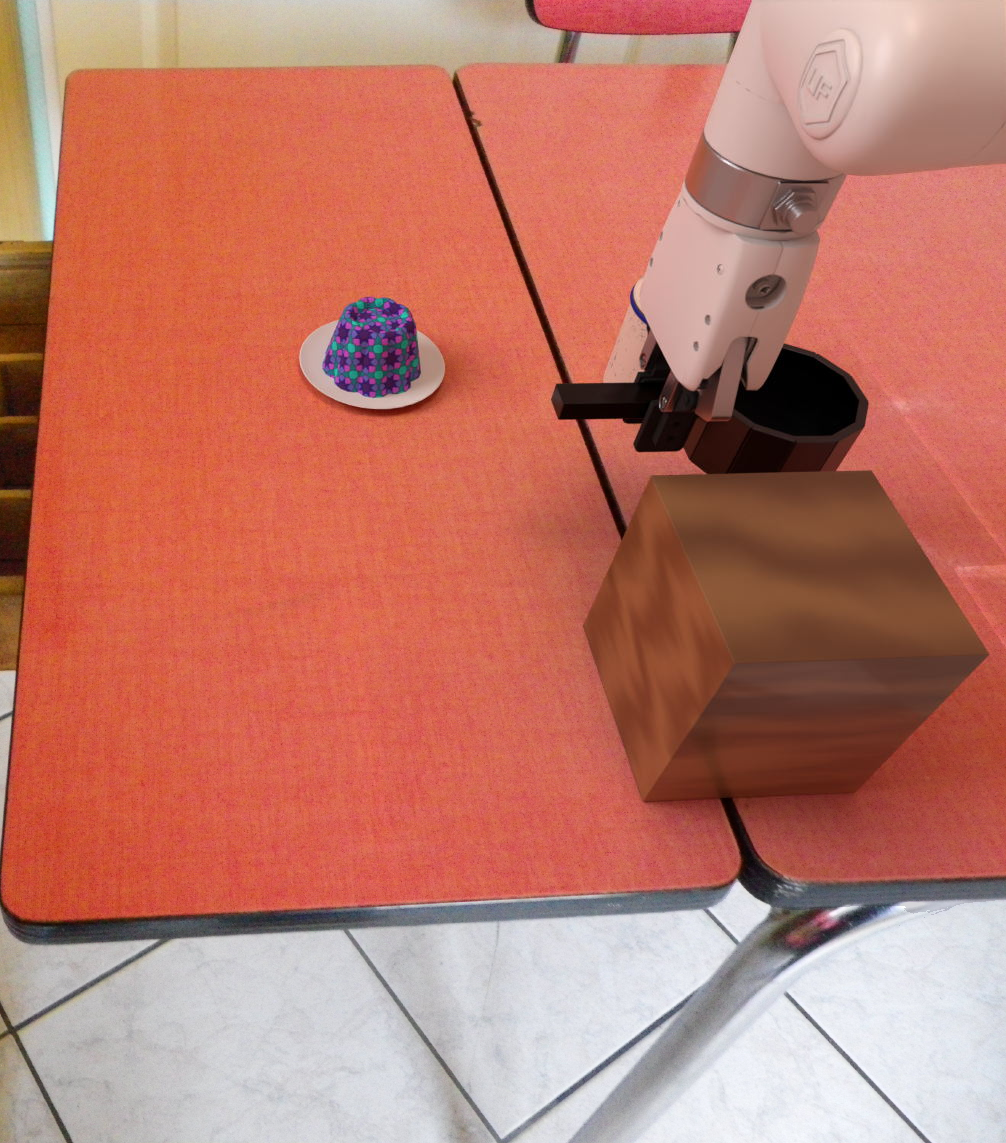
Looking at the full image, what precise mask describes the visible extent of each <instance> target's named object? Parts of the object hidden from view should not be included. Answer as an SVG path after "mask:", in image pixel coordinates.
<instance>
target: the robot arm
mask: <svg viewBox="0 0 1006 1143" xmlns="http://www.w3.org/2000/svg"><path fill="white" fill-rule="evenodd" d="M735 41H736V42H735V44H734V47H733V49H732V52H731V54H730V57H729V60H728V62H727V65H726V67H725V70H724V72H723V76H722V78H721V81H720V84H719V86H718V89H717V92H716V95H715V97H714V100H713V102H712V105H711V107H710V110H709V113H708V116H707V119H706V122H705V124H704V127H703V129H702V131H701V134H700V135H699V136H700V137H699V139H698V142H697V145H696V146H695V147H696V148H695V149H694V152H693V155H692V157H691V161H690V163H689V165H688V169H687V171H686V174H685V176H684V179H683V181H682V184H681V189H680V192H679V193H678V195H677V198H676V200H675V202H674V204H673V206H672V208H671V210H670V212H669V214H668V217H667V218H666V221H665V223H664V225H663V227H662V229H661V232H660V234H659V237H658V238H657V241H656V243H655V246H654V248H653V251H652V253H651V256H650V258H649V261H648V264H647V266H646V269H645V273H644V274H643V276H644V278H643V282H642V285H641V289H640V304H641V308H642V311H643V313H644V315H645V318H646V320H647V322H648V324H647V327H646V328H647V331H648V335H647V339H646V341H645V344H644V346H643V349H642V351H641V354H640V357H639V366H640V368H641V369H642V370H644V372H638V373H637V376H636V378H635V381H634V382H666V383H665V385H664V388H663V390H662V392H661V395H660V398H659V400H652V401H651V403H650V405H649V407H648V410H647V412H646V414H645V417H644V419H621V420H622V422H623V423H624V424H627V425H640V426H639V429H638V430H637V434H636V436H635V438H634V441H633V443H632V445H633V448H634V450H635V452H637V453H665V452H666V453H677V452H680V451H681V450H683V449H684V448H683V447H684V445H685V443H686V441H687V438H688V436H689V434H690V432H691V430H692V428H693V426H694V424H695V422H696V420H697V418H698V416H700V417H701V418H703V419H704V420H705V421H708V422H710V421H729V420H730V419H731V416H732V412H733V408H734V403H735V399H736V394H737V390H738V386H739V381H740V380H741V381H742V383H743V385H744V387H745V388H746V390H758V389H759V388H760V387H761V386H762V385H763V384H764V382H765V381H766V379H767V377H768V375H769V374H770V372H771V370H772V368H773V366H774V364H775V361H776V359H777V357H778V355H779V353H780V351H781V349H782V347H783V344H784V343H785V342H786V340H787V337H788V336H789V333H790V331H791V328H792V326H793V324H794V322H795V319H796V317H797V314H798V312H799V309H800V306H801V304H802V302H803V299H804V296H805V294H806V291H807V288H808V285H809V283H810V279H811V276H812V273H813V269H814V266H815V263H816V260H817V256H818V251H819V247H820V244H821V237H820V235H819V233H818V230H820V228H821V227H822V226H823V224H824V222H825V220H826V218H827V217H828V214H829V212H830V210H831V208H832V207H833V205H834V202H835V201H836V198H837V196H838V195H839V192H840V190H841V189H842V186H843V184H844V183H845V181H846V179H847V176H856V177H879V176H880V177H881V176H892V175H902V174H912V173H921V172H933V171H942V170H948V169H955V168H967V167H978V166H980V167H981V166H991V165H1006V0H751V2H750V5H749V7H748V10H747V12H746V15H745V18H744V20H743V23H742V26H741V28H740V31H739V33H738V36H737V39H736V40H735ZM683 387H685V388H687V389H688V390H684V391H682V389H683ZM696 389H697V390H696Z"/></svg>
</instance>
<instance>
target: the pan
mask: <svg viewBox="0 0 1006 1143" xmlns="http://www.w3.org/2000/svg"><path fill="white" fill-rule="evenodd" d="M665 383H666V382H632V383H603V382H572V383H571V382H565V383H564V382H563V383H562V382H561V383H560V382H559V383H555V385H554V389H553V392H552V394H551V398H550V401H551V404H552V407H553V409H554V412H555V415H556V418H557V420H559V421H573V420H575V421H577V420H579V421H580V420H581V421H582V420H622V419H644V417H645V414H646V412H647V410H648V407H649V405H650V403H651V401H652V400H659V398H660V395H661V392H662V390H663V388H664V385H665ZM684 390H688V389H687V388H685V387H683V389H682V391H684ZM696 390H697V389H696ZM869 405H870V402H869V400H868V398H867V396H866V395H865V393H864V392H863V391H862V389H861V388H860V386H859V385H858V383H857V381H856V380H855V378H854V377H853V375H851V373H849V372H847V371H846V370H844V369H843V368H841V367H840V366H839V365H836V364H835V363H833V361H830V360H829V359H828V358H826V357H824V356H822V355H821V354H820V353H817V352H815V351H813V350H808V349H806V348H802V347H799V346H796V345H792V344H789V343H785V342H784V344H783V347H782V349H781V351H780V353H779V355H778V357H777V359H776V361H775V364H774V366H773V368H772V370H771V372H770V374H769V375H768V377H767V379H766V381H765V382H764V384H763V385H762V386H761V387H760V388H759V389H758V390H746V388H745V387H744V385H743V383H742V381H741V380H740V381H739V386H738V390H737V394H736V399H735V403H734V408H733V412H732V416H731V419H730V420H729V421H710V422H708V421H705V420H704V419H703V418H701V417H700V416H698V418H697V420H696V422H695V424H694V426H693V428H692V430H691V432H690V434H689V436H688V438H687V441H686V443H685V445H684V447H683V448H682V449H683V450H684V452H685V454H686V456H687V458H688V460H689V461H690V463H692V464H693V465H694V466H695V467H696V468H698V469H699V470H700V471H702V472H704V474H736V473H778V472H820V471H838V468H839V467H840V466H841V464H842V463H843V461H844V459H845V458H846V456H848V454H849V452H850V450H851V449H852V447H853V446H854V444H855V443H856V440H857V439H858V438H859V436H860V435H861V433H862V432H863V430H864V428H865V427H866V421H867V416H868V411H869Z"/></svg>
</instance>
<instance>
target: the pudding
mask: <svg viewBox="0 0 1006 1143" xmlns="http://www.w3.org/2000/svg"><path fill="white" fill-rule="evenodd" d="M413 317H414V316H413V314H412V312H411V310H410V309H409V307H408V306H405V305H404V304H401V303H397V301H396V300H394V299H393V298H390V297H385V296H382V297H378V298H377V297H374V296H365V297H361V298H359V300H358V301H353V302H350V303H349V304H347V305H346V306H345V307H344V308H343V310H342V312H341V314H340V316H339V319H337V320H333V321H331V322H328V323H325V324H323V325H321V326H320V327H318V328H316V329H315V330H313V331H312V332H311V333H310V334H309V335H308V336H307V337H306V338H305V340H304V341H303V343H302V345H301V347H300V350H299V358H298V360H299V366H300V369H301V371H302V373H303V375H304V376H305V378H306V380H307V381H308V382H309V383H310V384H311V385H312V386H313V387H314V389H316V390H317V391H319V392H320V393H322V394H323V395H325V396H327V397H329V398H331V399H333V400H335V401H336V402H339V403H342V404H346V405H349V406H353V407H358V408H361V409H362V408H363V409H372V410H373V409H374V410H391V409H397V408H404V407H407V406H409V405H414V404H416V403H419V402H421V401H423V400H425V399H426V398H428V397H430V396H431V395H432V394H433V393H434V392H435V391H436V390H438V389H439V387H440V385H441V384H442V382H443V380H444V377H445V374H446V363H445V360H444V356H443V354H442V352H441V350H440V348H439V347H438V346H437V345H436V344H435V343H434V342H433V340H432V339H430V338H429V337H428V336H427V335H425V334H424V333H422V332H421V331H419V330H418V329H417V325H416V321H415V319H414V318H413Z"/></svg>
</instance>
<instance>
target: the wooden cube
mask: <svg viewBox="0 0 1006 1143" xmlns="http://www.w3.org/2000/svg"><path fill="white" fill-rule="evenodd" d="M582 626H583V630H584V633H585V636H586V640H587V642H588V645H589V647H590V650H591V654H592V656H593V659H594V663H595V665H596V669H597V671H598V675H599V678H600V680H601V683H602V685H603V688H604V692H605V694H606V697H607V701H608V703H609V706H610V710H611V712H612V715H613V719H614V721H615V723H616V724H615V725H616V727H617V730H618V733H619V736H620V739H621V741H622V745H623V747H624V750H625V754H626V757H627V759H628V763H629V765H630V768H631V771H632V774H633V777H634V780H635V783H636V785H637V789H638V791H639V794H640V797H641V800H642V802H644V803H645V802H663V801H664V802H665V801H666V802H667V801H685V800H686V801H687V800H707V799H708V800H712V799H735V798H757V797H777V796H778V797H780V796H801V795H802V796H804V795H822V794H824V795H826V794H847V793H856V792H857V791H859V789H860V788H861V787H862V786H863V785H864V784H865V783H866V782H867V781H868V780H869V779H870V778H871V777H872V776H873V775H874V774H875V773H876V772H877V771H878V770H879V769H880V768H881V767H882V766H883V765H884V764H885V763H886V762H887V761H888V760H889V758H890V757H891V756H893V754H894V753H895V752H896V751H897V750H898V749H899V748H900V747H902V745H903V744H904V743H905V742H906V741H907V740H909V738H910V737H911V736H912V735H913V734H914V733H915V732H916V731H917V730H918V729H919V728H920V727H921V726H922V725H923V723H924V722H925V721H926V720H928V719H929V718H930V716H931V715H933V714H934V712H935V711H936V710H937V709H938V708H939V707H940V706H941V705H942V704H943V703H944V702H945V701H946V700H947V699H948V698H949V697H950V696H951V695H952V694H953V693H954V692H955V691H956V690H957V689H958V688H959V687H960V686H961V685H962V683H964V682H965V681H966V680H967V678H969V676H971V675H972V674H973V672H974V671H975V670H976V669H977V668H978V667H979V666H980V665H981V664H982V663H983V662H984V661H985V660H986V659H987V658H988V657H989V656H990V652H989V651H988V649H987V648H986V646H985V644H984V643H983V642H982V640H981V639H980V637H979V635H978V634H977V631H976V630H975V629H974V627H973V626H972V624H971V623H970V621H969V620H968V618H967V617H966V614H965V613H964V612H963V610H962V608H961V607H960V605H959V604H958V602H957V601H956V599H955V598H954V596H953V595H952V593H951V592H950V590H949V588H948V586H946V584H945V582H944V581H943V579H942V578H941V576H940V574H939V573H938V571H937V569H936V568H935V567H934V565H933V564H932V562H931V560H930V559H929V557H928V555H927V554H926V553H925V551H924V549H923V548H922V546H921V545H920V543H919V542H918V540H917V539H916V537H915V535H914V534H913V532H912V530H911V529H910V528H909V526H908V524H907V523H906V522H905V520H904V518H903V517H902V515H901V513H900V512H899V511H898V508H896V506H895V505H894V503H893V501H892V500H891V498H890V497H889V495H888V494H887V492H886V491H885V489H884V487H883V485H882V484H881V483H880V481H879V479H878V478H877V476H876V475H875V473H874V472H873V470H871V469H869V470H868V469H867V470H866V469H865V470H836V471H820V472H778V473H736V474H706V473H701V474H698V473H696V474H661V475H660V474H659V475H658V474H657V475H650V477H649V479H648V481H647V484H646V486H645V488H644V490H643V493H642V494H641V497H640V499H639V501H638V504H637V506H636V507H635V510H634V513H633V514H632V517H631V518H630V521H629V523H628V526H627V528H626V529H625V532H624V533H623V537H622V539H621V541H620V543H619V545H618V547H617V549H616V551H615V554H614V556H613V559H612V561H611V562H610V565H609V567H608V570H607V572H606V574H605V576H604V577H603V580H602V582H601V585H600V587H599V589H598V591H597V594H596V596H595V597H594V601H593V602H592V605H591V607H590V608H589V611H588V613H587V615H586V618H585V619H584V622H583V625H582Z"/></svg>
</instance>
